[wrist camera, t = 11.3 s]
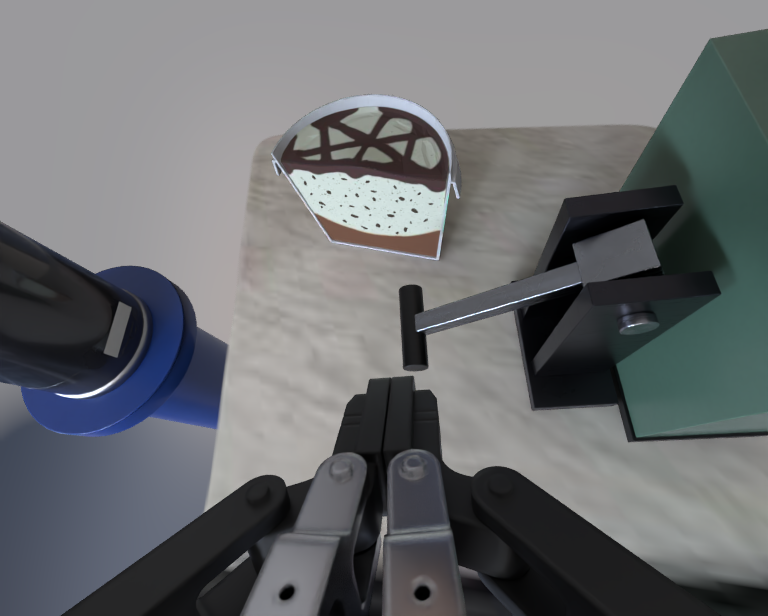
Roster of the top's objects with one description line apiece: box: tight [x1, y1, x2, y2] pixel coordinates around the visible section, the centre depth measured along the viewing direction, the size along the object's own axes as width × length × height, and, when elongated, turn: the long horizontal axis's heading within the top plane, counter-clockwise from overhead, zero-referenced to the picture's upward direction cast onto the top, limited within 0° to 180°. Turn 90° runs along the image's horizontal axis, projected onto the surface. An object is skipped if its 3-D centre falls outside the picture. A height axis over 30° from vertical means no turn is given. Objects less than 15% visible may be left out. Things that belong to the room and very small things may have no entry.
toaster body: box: [610, 29, 768, 442], centre depth 19 cm, size 7×13×16 cm, turn 2°
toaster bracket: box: [511, 185, 721, 411], centre depth 21 cm, size 5×9×13 cm, turn 2°
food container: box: [271, 94, 462, 261], centre depth 29 cm, size 12×6×10 cm, turn 74°
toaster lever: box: [399, 219, 665, 371], centre depth 20 cm, size 13×5×2 cm, turn 93°
